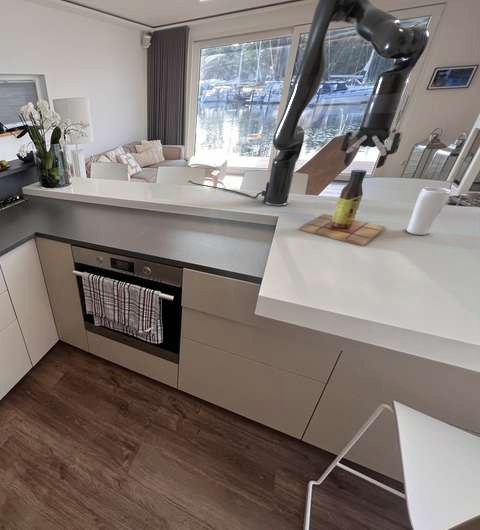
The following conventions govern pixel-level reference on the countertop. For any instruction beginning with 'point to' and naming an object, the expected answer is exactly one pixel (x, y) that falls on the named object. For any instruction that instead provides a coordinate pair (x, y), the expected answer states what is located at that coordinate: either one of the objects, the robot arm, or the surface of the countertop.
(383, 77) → the robot arm
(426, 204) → the drinking glass
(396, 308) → the countertop surface
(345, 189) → the sauce bottle
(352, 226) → the board
